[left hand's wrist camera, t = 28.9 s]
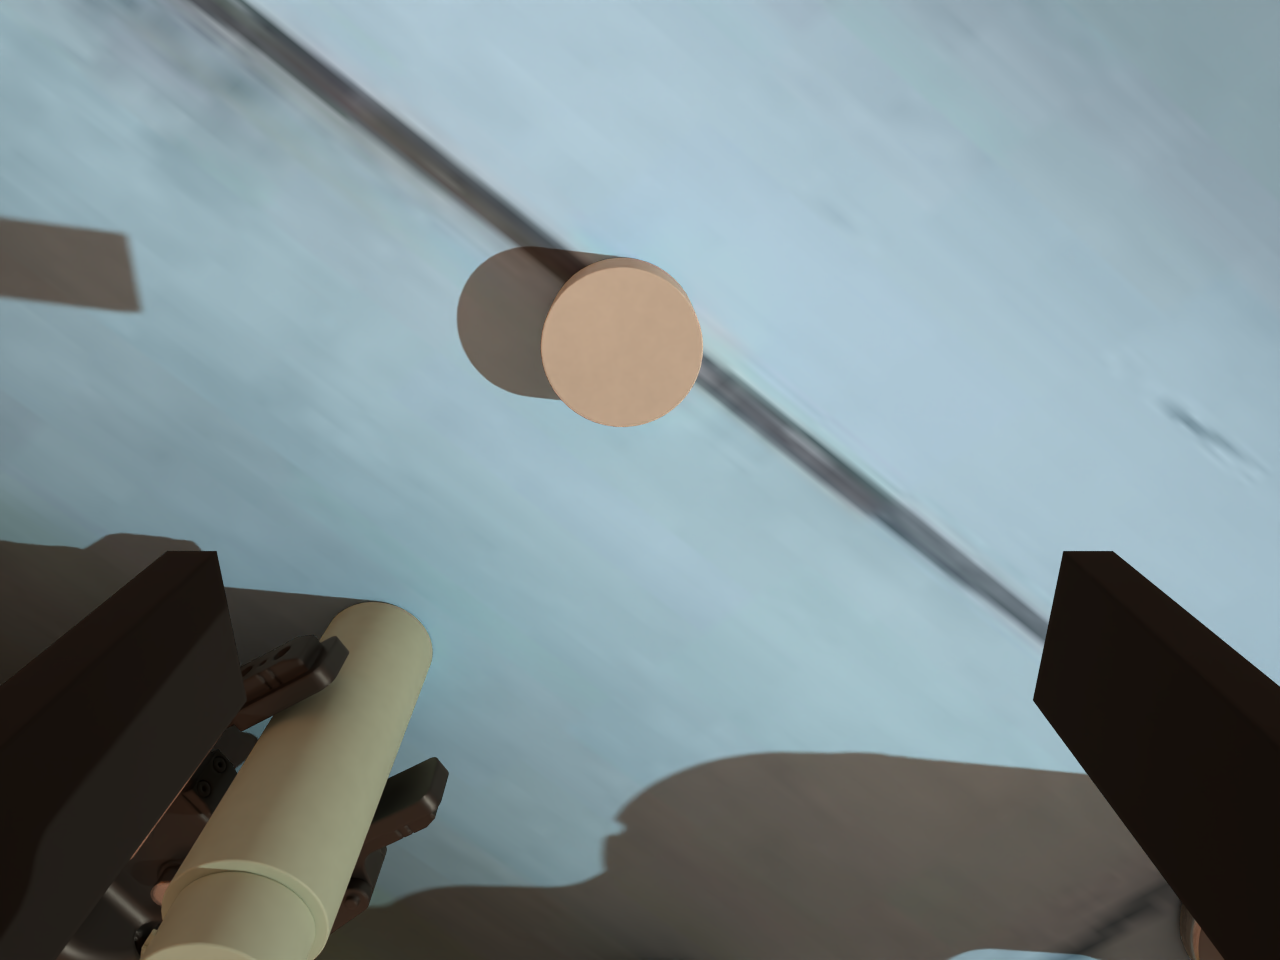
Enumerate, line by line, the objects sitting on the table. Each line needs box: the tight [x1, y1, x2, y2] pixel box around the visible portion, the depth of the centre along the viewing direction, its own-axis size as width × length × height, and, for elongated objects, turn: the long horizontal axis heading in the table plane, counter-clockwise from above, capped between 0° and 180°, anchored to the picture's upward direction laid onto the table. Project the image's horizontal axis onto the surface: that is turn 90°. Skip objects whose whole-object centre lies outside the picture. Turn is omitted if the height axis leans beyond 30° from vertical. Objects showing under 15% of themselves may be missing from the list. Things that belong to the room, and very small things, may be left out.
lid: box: [541, 258, 703, 427], centre depth 29 cm, size 5×6×2 cm
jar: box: [140, 602, 433, 960], centre depth 27 cm, size 4×4×15 cm
